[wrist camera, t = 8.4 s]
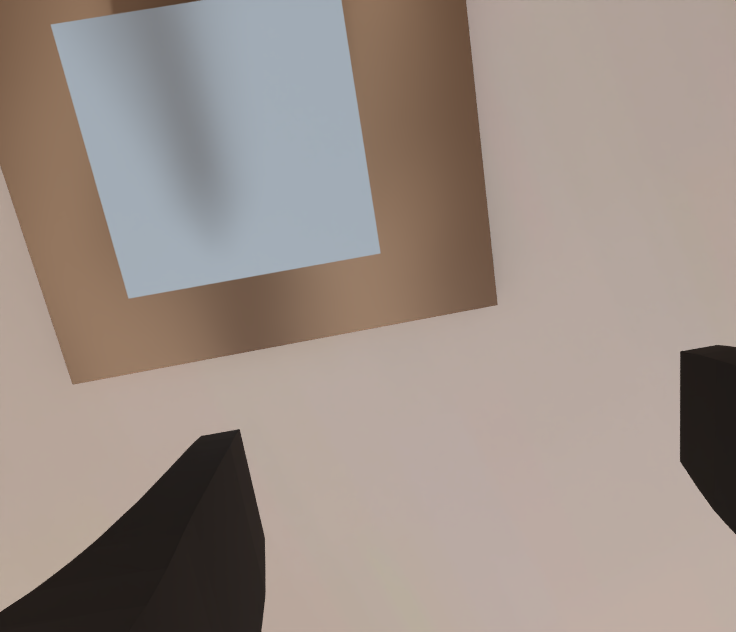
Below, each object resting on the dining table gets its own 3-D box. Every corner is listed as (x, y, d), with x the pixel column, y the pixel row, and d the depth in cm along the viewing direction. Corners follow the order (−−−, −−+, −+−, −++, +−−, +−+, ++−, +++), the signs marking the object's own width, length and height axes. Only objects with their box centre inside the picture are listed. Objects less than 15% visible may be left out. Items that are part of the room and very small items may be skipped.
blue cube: (324, 5, 17) (338, -22, 12) (357, 209, 19) (380, 253, 14) (117, 39, 17) (50, 24, 12) (169, 242, 18) (128, 298, 14)
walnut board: (440, -182, 17) (445, -191, 16) (491, 298, 21) (497, 304, 20) (-77, -102, 16) (-90, -109, 15) (78, 375, 20) (72, 384, 19)
